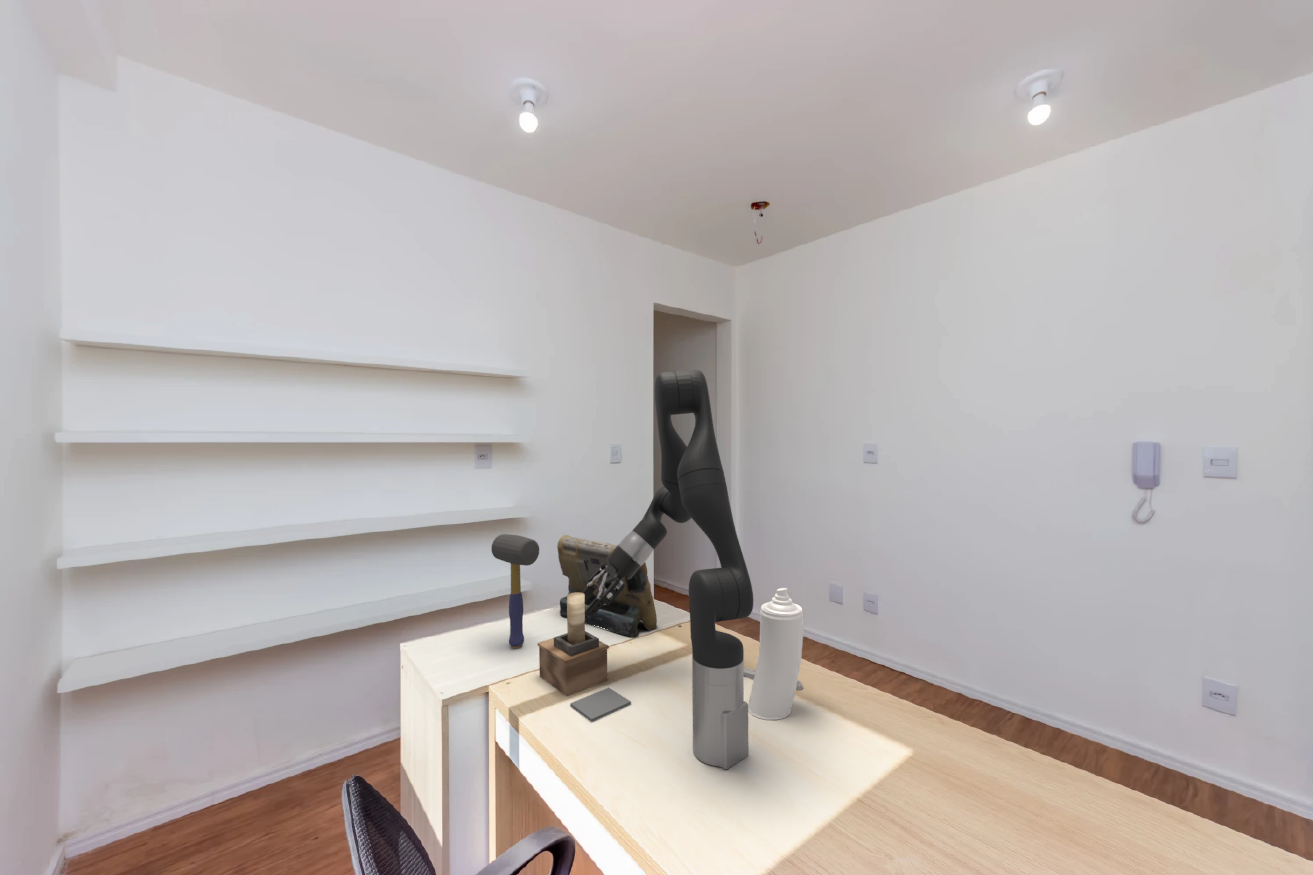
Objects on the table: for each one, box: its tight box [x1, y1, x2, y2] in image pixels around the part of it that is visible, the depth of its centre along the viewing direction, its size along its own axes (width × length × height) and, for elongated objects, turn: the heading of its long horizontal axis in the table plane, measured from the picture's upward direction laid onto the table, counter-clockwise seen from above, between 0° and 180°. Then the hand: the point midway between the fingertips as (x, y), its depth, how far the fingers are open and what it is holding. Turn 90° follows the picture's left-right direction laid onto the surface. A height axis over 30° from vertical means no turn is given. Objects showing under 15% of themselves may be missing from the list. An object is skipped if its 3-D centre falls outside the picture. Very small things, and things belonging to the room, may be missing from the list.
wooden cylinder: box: [566, 592, 586, 645], centre depth 121 cm, size 4×4×12 cm
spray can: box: [747, 587, 805, 721], centre depth 110 cm, size 12×11×25 cm
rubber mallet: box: [491, 533, 540, 649], centre depth 140 cm, size 12×8×30 cm, turn 54°
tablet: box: [556, 534, 658, 638], centre depth 158 cm, size 33×14×25 cm, turn 58°
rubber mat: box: [569, 686, 632, 723], centre depth 111 cm, size 8×10×1 cm
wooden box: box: [537, 630, 610, 697], centre depth 123 cm, size 13×12×10 cm
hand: (583, 608), depth 122 cm, fingers open, 8 cm apart
